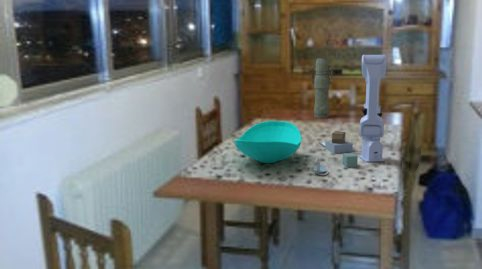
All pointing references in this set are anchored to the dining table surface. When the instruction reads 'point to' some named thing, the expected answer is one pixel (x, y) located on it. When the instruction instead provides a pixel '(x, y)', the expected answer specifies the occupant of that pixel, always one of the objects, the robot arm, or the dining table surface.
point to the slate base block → (338, 147)
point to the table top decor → (270, 141)
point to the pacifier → (319, 168)
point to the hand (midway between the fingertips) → (371, 126)
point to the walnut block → (338, 137)
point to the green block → (350, 160)
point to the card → (322, 144)
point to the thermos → (321, 87)
